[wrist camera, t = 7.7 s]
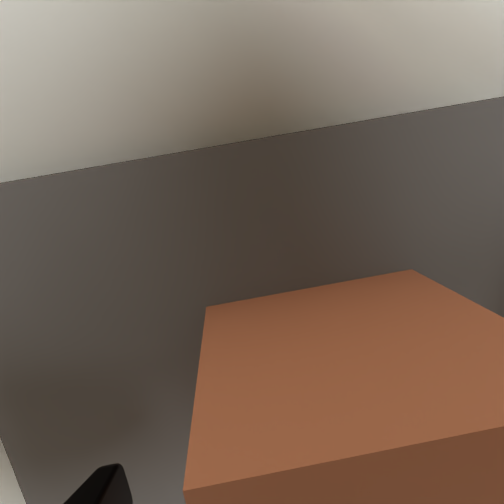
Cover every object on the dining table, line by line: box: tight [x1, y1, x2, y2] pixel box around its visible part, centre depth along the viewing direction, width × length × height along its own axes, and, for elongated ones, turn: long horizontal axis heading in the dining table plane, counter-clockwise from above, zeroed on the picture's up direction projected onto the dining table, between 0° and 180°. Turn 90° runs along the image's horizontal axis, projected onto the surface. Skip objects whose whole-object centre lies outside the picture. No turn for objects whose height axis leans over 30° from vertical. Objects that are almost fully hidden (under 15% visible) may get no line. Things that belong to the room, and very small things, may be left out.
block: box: [183, 269, 504, 504], centre depth 7 cm, size 5×5×5 cm
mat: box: [0, 97, 504, 504], centre depth 9 cm, size 16×12×1 cm
